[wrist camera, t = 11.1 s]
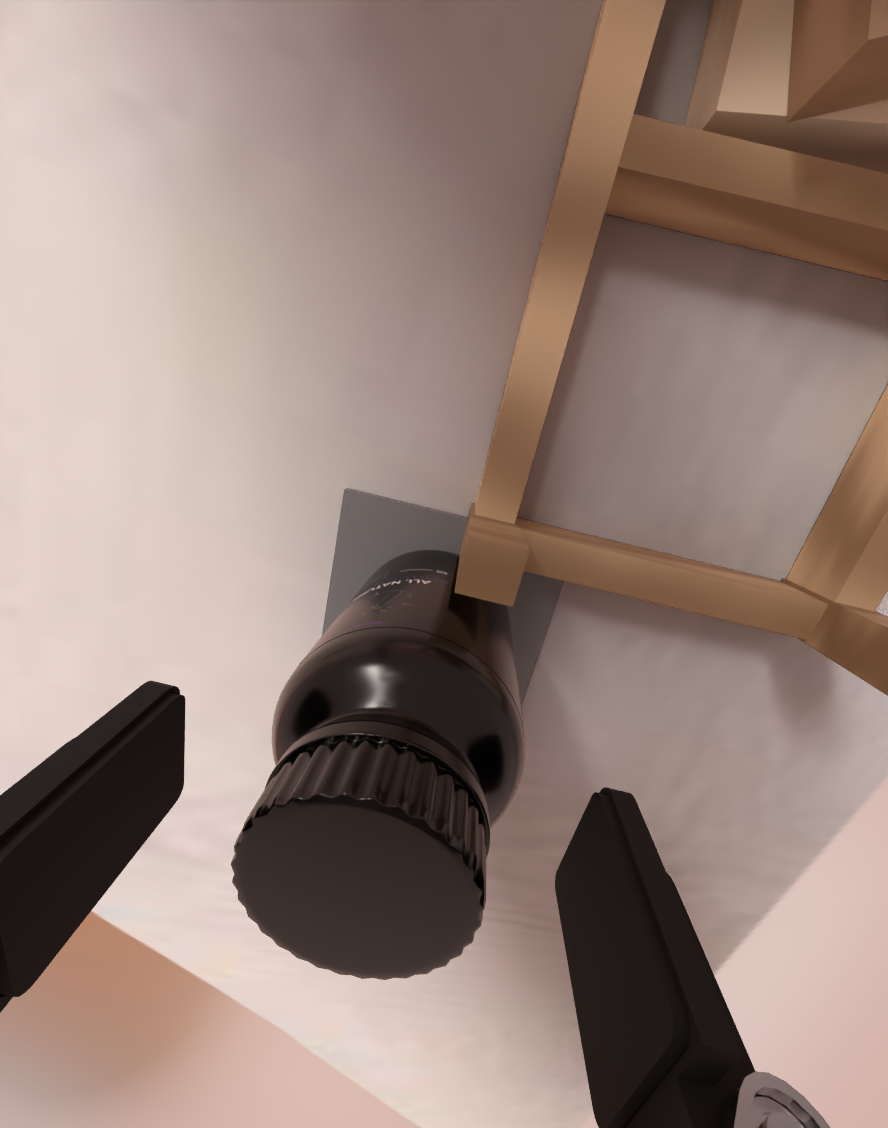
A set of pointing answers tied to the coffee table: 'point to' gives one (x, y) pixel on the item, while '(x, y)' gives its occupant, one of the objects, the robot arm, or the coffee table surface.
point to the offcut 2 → (837, 56)
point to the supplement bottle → (387, 778)
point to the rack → (583, 194)
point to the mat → (400, 527)
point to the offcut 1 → (773, 90)
